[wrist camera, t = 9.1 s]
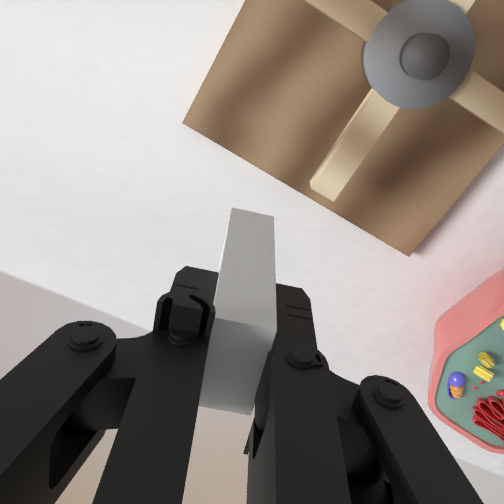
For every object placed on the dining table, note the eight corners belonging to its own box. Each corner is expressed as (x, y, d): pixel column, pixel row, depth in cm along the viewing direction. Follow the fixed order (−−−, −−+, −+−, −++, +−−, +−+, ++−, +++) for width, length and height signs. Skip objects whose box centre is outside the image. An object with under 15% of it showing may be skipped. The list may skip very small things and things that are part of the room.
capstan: (432, 252, 36) (449, 277, 32) (194, 111, 32) (183, 122, 28) (681, -41, 27) (741, -50, 23) (394, -280, 23) (415, -333, 20)
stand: (185, 119, 36) (174, 131, 33) (377, -253, 27) (393, -297, 23) (405, 250, 40) (418, 274, 37) (641, -35, 31) (692, -43, 27)
